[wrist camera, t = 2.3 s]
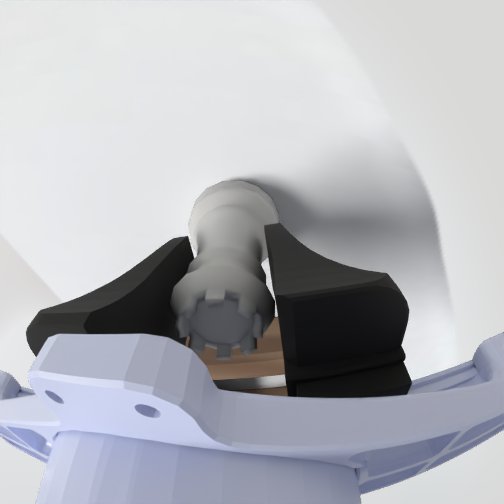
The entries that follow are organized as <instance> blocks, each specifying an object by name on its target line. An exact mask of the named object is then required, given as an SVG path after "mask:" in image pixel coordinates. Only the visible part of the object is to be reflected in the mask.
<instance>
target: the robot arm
mask: <svg viewBox="0 0 504 504" xmlns="http://www.w3.org/2000/svg"><path fill="white" fill-rule="evenodd" d="M264 231H265V238H266V245H267V251H268V258H269V265H270V272H271V279H272V286H273V291H274V295H275V300H276V305H277V312H278V320H279V327H280V335H281V342H282V350H283V358H284V368H285V379H286V386H287V394H288V397H286V396H272V395H261V394H251V393H242V392H234V391H226V390H220V389H218V388H217V386H216V385H215V384H214V382H213V380H212V378H211V375H210V373H209V371H208V369H207V366H206V365H205V364H204V363H203V362H202V361H201V360H200V358H199V357H198V356H197V355H196V354H195V353H194V351H193V350H191V349H190V348H188V347H186V346H185V345H186V340H187V337H182V338H179V337H178V334H177V330H176V322H177V321H176V320H175V318H174V316H173V312H172V308H171V304H170V300H171V296H172V292H173V289H174V286H175V285H176V284H177V283H178V282H179V281H180V280H181V279H182V278H183V277H184V276H185V275H186V274H187V271H188V268H189V265H190V263H191V262H192V261H193V260H194V256H193V252H192V249H191V245H190V242H189V238H188V236H185V237H179V238H174V239H172V240H170V241H168V242H167V243H165V244H164V245H163V246H161V247H160V248H159V249H157V250H156V251H155V252H154V253H152V254H151V255H150V256H148V257H147V258H146V259H144V260H143V261H142V262H140V263H139V264H137V265H136V266H135V267H133V268H132V269H131V270H129V271H128V272H126V273H125V274H123V275H122V276H120V277H118V278H117V279H115V280H113V281H112V282H110V283H108V284H106V285H104V286H102V287H100V288H98V289H96V290H94V291H92V292H90V293H88V294H86V295H83V296H81V297H79V298H76V299H74V300H71V301H68V302H65V303H62V304H59V305H56V306H53V307H49V308H46V309H43V310H40V311H39V312H38V314H37V315H36V316H35V318H34V319H33V321H32V322H31V323H30V325H29V326H28V328H27V331H26V336H27V342H28V344H29V346H30V349H31V350H32V351H33V353H34V355H35V356H36V359H35V361H34V362H33V364H32V366H31V368H30V369H29V371H28V382H29V385H30V387H31V388H32V389H28V388H24V387H21V386H20V384H19V383H18V382H17V380H16V379H14V377H13V376H12V375H10V374H9V373H7V372H4V371H1V370H0V437H2V438H3V439H4V440H5V441H7V442H8V443H9V444H10V445H12V446H14V447H16V448H18V449H20V450H21V451H23V452H25V453H27V454H29V455H31V456H33V457H35V458H37V459H39V460H41V461H43V462H45V463H47V465H46V468H45V471H44V475H43V478H42V481H41V485H40V488H39V492H38V495H37V499H36V503H35V504H361V498H360V495H361V494H365V493H368V492H371V491H375V490H378V489H381V488H384V487H387V486H390V485H393V484H395V483H398V482H401V481H403V480H406V479H408V478H411V477H414V476H416V475H418V474H421V473H423V472H425V471H428V470H430V469H432V468H434V467H437V466H439V465H441V464H443V463H445V462H447V461H449V460H450V459H453V458H455V457H457V456H459V455H461V454H462V453H464V452H466V451H468V450H470V449H472V448H473V447H475V446H477V445H479V444H480V443H482V442H484V441H486V440H488V439H489V438H491V437H493V436H494V435H496V434H498V433H499V432H501V431H502V430H504V332H503V333H501V334H498V335H496V336H494V337H491V338H489V339H487V340H485V341H483V343H482V344H480V345H479V347H478V348H477V350H476V352H475V354H474V356H473V359H472V360H470V361H468V362H465V363H463V364H460V365H458V366H455V367H452V368H449V369H447V370H444V371H441V372H438V373H435V374H432V375H429V376H426V377H423V378H420V379H416V380H413V381H411V378H410V376H409V374H408V371H407V369H406V366H405V364H404V362H403V361H405V358H406V357H405V353H404V350H403V348H402V346H401V345H402V341H403V338H404V334H405V331H406V327H407V323H408V318H409V308H408V304H407V301H406V299H405V297H404V296H403V294H402V292H401V291H400V289H399V288H398V286H397V285H396V284H395V282H394V281H393V280H392V279H391V277H390V276H389V275H388V274H387V273H381V272H374V271H367V270H361V269H357V268H353V267H349V266H346V265H343V264H340V263H337V262H335V261H332V260H329V259H327V258H325V257H323V256H321V255H319V254H317V253H315V252H313V251H312V250H310V249H309V248H307V247H306V246H304V245H303V244H302V243H300V242H299V241H298V240H297V239H296V238H294V237H293V236H292V235H291V234H290V233H289V232H288V231H287V230H286V229H285V228H284V227H283V225H281V224H280V223H276V224H268V225H264Z"/></svg>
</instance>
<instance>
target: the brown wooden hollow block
mask: <svg viewBox="0 0 504 504" xmlns="http://www.w3.org/2000/svg"><path fill="white" fill-rule="evenodd" d="M189 340H190V337H189V336H188V337H187V340H186V345H185V346H186V347H188V344H189ZM194 353H195V352H194ZM216 353H217V349H214V348H210V347H207V346H205V351H204V352H203V353H202V355H201V356H200V355H198V354H196V353H195V354H196V355H197V356H198V357H199V358H200V360H201V361H202V362H203V363H204V364H205V365H206V366H207V369H208V371H209V373H210V375H211V378H212V380H222V379H239V378H252V377H264V376H274V375H283V374H285V368H284V358H283V350H282V342H281V335H280V327H279V320H278V317H275V318H274V320H273V321H272V323H271V325H270V326H269V328H268V330H267V331H266V332H265V333H263V338H257V349H256V350H255V351H253V352H252V353H250V354H249V355H247V356H245V355H244V354H243V353H241V352H240V347H239V348H236V349H232V359H231V360H216ZM234 392H242V393H251V394H261V395H272V396H286V397H288V394H287V387H278V388H268V389H257V390H243V391H234Z"/></svg>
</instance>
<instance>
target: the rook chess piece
mask: <svg viewBox="0 0 504 504" xmlns="http://www.w3.org/2000/svg"><path fill="white" fill-rule="evenodd" d="M278 219H279V214H278V212H277V209H276V207H275V205H274V203H273V200H272V198H271V197H269V196H268V195H267V194H266V193H265V192H264V191H263V190H262V189H261V188H260V187H258V186H255V185H253V184H250V183H247V182H244V181H241V180H239V181H222V182H220V183H218V184H215V185H213V186H211V187H209V188H207V189H206V190H205V191H204V192H203V193H202V194H201V195H200V196H199V198H198V199H197V200H196V201H195V204H194V207H193V210H192V213H191V217H190V220H189V224H188V225H189V233H190V240H191V244H192V246H193V247H194V249H195V251H196V252H197V257H196V258H195V259H194V260H193V261H192V262H191V263H190V265H189V268H188V271H187V274H186V275H185V276H184V277H183V278H182V279H181V280H180V281H179V282H178V283H177V284H176V285H175V286H174V289H173V292H172V296H171V300H170V304H171V308H172V312H173V316H174V318H175V320H176V321H177V322H176V330H177V334H178V337H179V338H182V337H188V336H189V337H190V340H189V344H188V348H190V349H191V350H193V351H194V352H195V353H196V354H198V355H200V356H201V355H202V353H203V352H204V351H205V346H207V347H210V348H214V349H217V353H216V360H231V359H232V349H236V348H239V347H240V352H241V353H243V354H244V355H245V356H247V355H249V354H250V353H252V352H253V351H255V350H256V349H257V338H263V333H265V332H266V331H267V330H268V328H269V326H270V325H271V323H272V321H273V320H274V318H275V300H274V299H273V297H272V295H271V293H270V291H269V289H268V287H267V286H266V274H265V272H264V270H263V268H262V266H261V263H262V262H263V261H264V260H265V259H266V258H267V257H268V251H267V245H266V238H265V231H264V225H268V224H276V223H278V222H279V221H278Z"/></svg>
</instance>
